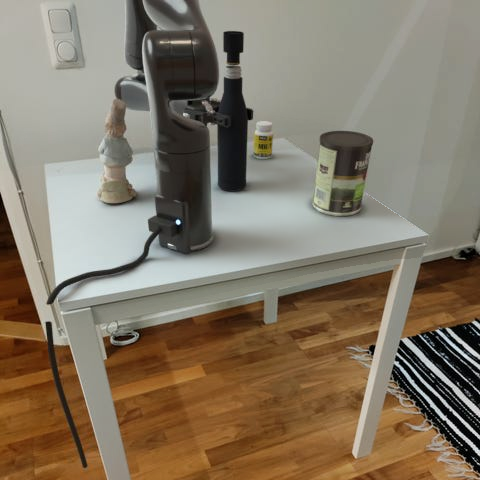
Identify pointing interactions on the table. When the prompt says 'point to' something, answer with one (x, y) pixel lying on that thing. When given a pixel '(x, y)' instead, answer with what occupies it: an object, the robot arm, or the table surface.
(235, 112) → the dark blue water bottle
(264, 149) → the supplement bottle
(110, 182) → the figurine
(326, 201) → the coffee can
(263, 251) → the table surface
